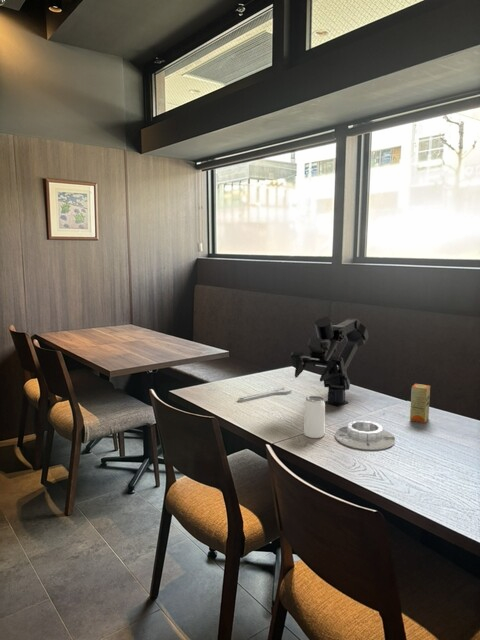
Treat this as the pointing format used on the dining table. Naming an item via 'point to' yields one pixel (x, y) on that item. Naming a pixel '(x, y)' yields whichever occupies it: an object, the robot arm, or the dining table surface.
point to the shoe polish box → (420, 403)
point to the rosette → (365, 436)
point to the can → (314, 417)
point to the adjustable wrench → (265, 394)
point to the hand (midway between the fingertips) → (307, 378)
